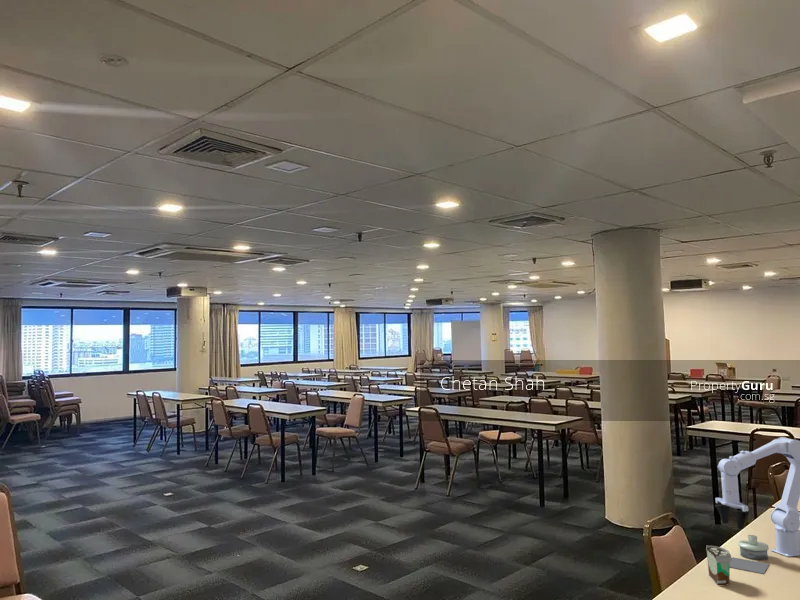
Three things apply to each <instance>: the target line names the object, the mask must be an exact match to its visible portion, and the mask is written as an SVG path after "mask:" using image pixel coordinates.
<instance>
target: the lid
mask: <svg viewBox="0 0 800 600" xmlns="http://www.w3.org/2000/svg"><path fill="white" fill-rule="evenodd" d="M747 537H748V538H747V539H746V540H745V539H743V540H739V541H738V542H737V544H738V546H739V548H740V547H741V548H744V549H747V550H752V551H767V552H768V551H769V545H768V544H767V543H764V542H762V541H758V536H757V535H755V534H749V535H747Z"/></svg>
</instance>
